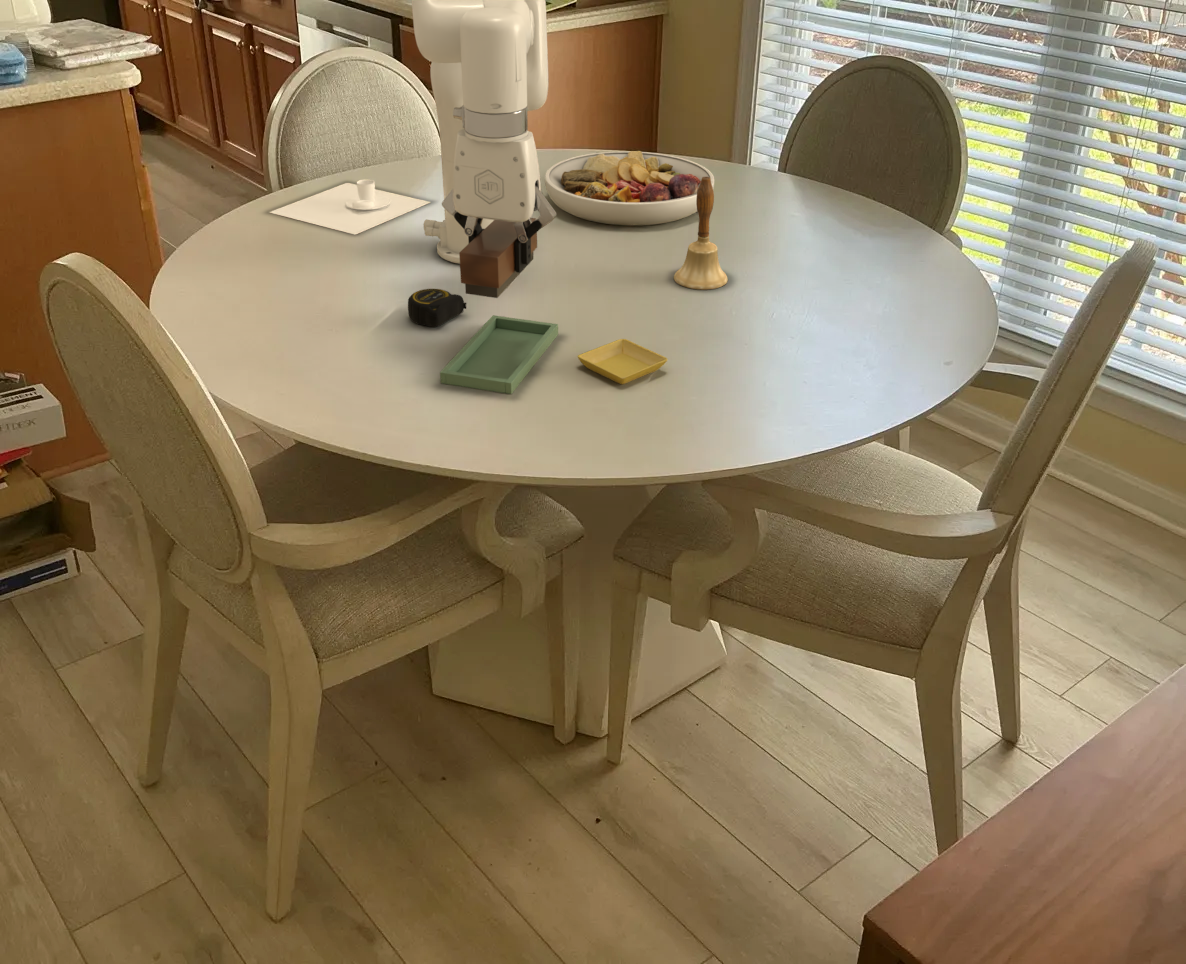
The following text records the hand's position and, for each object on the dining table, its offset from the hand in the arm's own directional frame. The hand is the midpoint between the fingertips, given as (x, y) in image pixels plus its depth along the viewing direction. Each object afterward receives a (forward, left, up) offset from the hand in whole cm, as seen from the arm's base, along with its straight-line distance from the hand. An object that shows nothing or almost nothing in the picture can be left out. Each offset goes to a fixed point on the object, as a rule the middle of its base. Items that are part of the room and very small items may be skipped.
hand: (500, 264), depth 147 cm
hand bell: (+19, +36, -14) cm, 43 cm away
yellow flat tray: (+16, +2, -14) cm, 21 cm away
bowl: (-1, +67, -14) cm, 68 cm away
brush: (0, 0, -2) cm, 2 cm away
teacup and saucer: (-47, +49, -14) cm, 69 cm away
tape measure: (-13, +9, -14) cm, 21 cm away
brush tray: (0, 0, -13) cm, 13 cm away
